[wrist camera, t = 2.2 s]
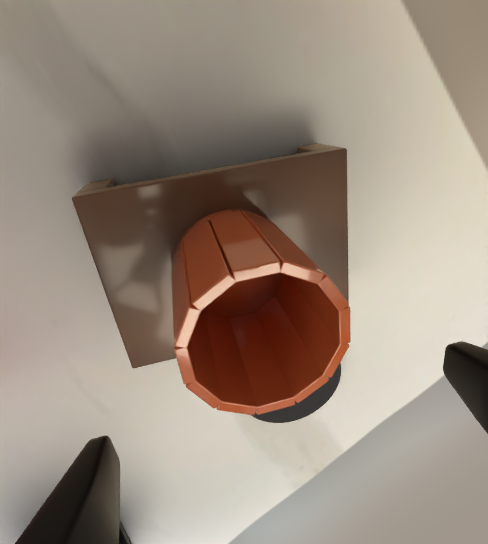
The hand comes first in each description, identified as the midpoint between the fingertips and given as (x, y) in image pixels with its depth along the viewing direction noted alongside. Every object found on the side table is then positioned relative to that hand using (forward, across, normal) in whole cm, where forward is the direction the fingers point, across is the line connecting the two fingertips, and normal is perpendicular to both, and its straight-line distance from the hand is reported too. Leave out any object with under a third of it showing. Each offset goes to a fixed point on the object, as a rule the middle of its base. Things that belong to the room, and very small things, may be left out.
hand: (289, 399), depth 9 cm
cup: (+9, 0, 0) cm, 9 cm away
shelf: (+12, 0, 0) cm, 12 cm away
